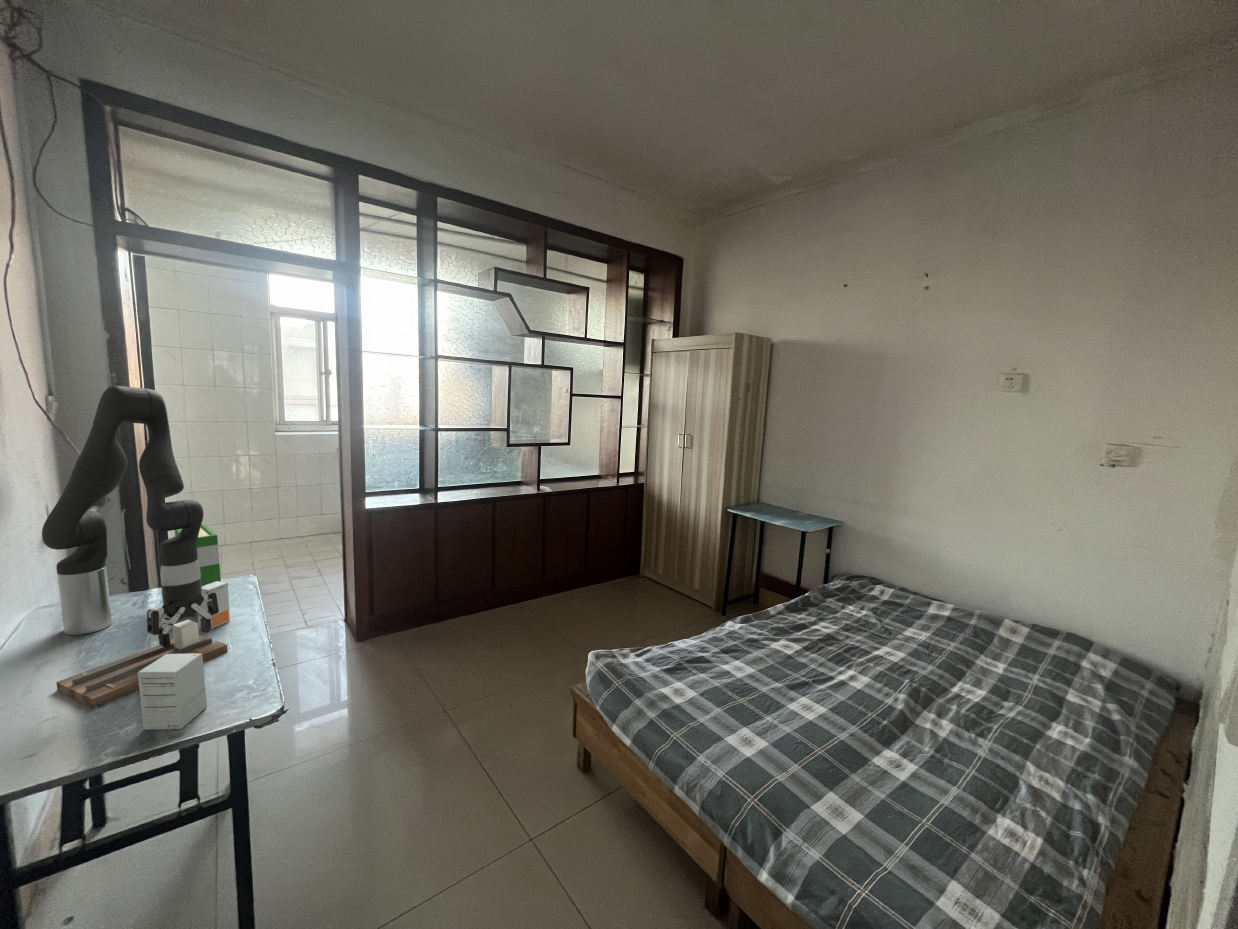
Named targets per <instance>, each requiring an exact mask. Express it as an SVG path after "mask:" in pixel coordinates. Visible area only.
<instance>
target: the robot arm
mask: <svg viewBox="0 0 1238 929" xmlns="http://www.w3.org/2000/svg"><path fill="white" fill-rule="evenodd" d="M166 406H167V405H166V402H165V399H164V397H163V396H162V394H161V393H160V392H159V391H157V390H154V389H151V388H143V387H135V386H134V387H133V386H125V385H124V386H123V385H111V386H109V387H107V388H106V389H105V390H104V391H103V393H102V395H101V396H100V398H99V402H98V404H97V408H96V410H95V411H96V412H95V415H94V418H93V421H92V426H91V429H90V431H89V434H88V436H87V439H86V441H85V444H84V445H83V448H82V450H81V452H80V454H79V456H78V458H77V460H76V461H75V465H74V467H73V468H72V471H71V474H70V477H69V479H68V482H67V483H66V485H65V488H64V490H63V491H62V493H61V495H60V497H59V499H58V500H57V502H56V504H55V506H54V507H53V508H52V509H51V511H50V512H49V514H48V516H47V517H46V519H45V521H44V523H43V526H42V529H41V538H42V541H43V543H44V545H45V546H46V547H47V548H49V549H52V550H56V551H60V550H68V549H73V548H76V549H75V550H74V551H73V552H72V553H71V554H69V555H68V556H66V557H64V558H62V559H61V560H59V561H58V562H57V563H56V574H57V583H58V589H59V590H58V591H59V598H60V600H59V601H60V606H61V615H62V625H63V632H64V635H67V636H80V635H81V636H82V635H86V634H91V633H95V632H98V631H100V630H104V629H106V628H108V627H109V626H111V625H112V623H113V619H112V611H111V599H110V598H111V597H110V592H109V591H110V590H109V582H108V581H109V580H108V572H107V558H108V530H107V524H106V521H105V518H104V517H103V515H102V514H101V513H99V512H97V511H95V510H90V509H91V508H92V507H93V506H94V505H96V504H97V503H98V502H100V501H101V500H103V499H104V498H105V497H107V496H108V495H109V494H110V493H112V492H113V491H114V490H116V488H117V487H118V486H119V485H120V483H121V481H122V479H123V477H124V475H125V473H126V471H127V468H128V463H129V462H128V461H129V460H128V457H127V454H126V453H125V452H124V449H123V448H122V446H121V444H120V443H119V440H118V438H117V436H118V431H119V428H120V426H121V425H123V424H139V425H140V424H141V425H145V426H146V427H147V430H148V434H149V438H148V442H147V443H146V446H145V447H144V449H143V451H142V453H141V455H140V459H139V462H138V469H139V474H140V477H141V479H142V482H143V484H144V488H145V490H146V500H147V505H146V516H145V518H146V519H145V520H146V524H147V526H148V527H149V529H151V530H152V531H154V532H157V533H164V532H170V531H175V530H177V529H180V530H181V532H180V533H179V534H178V535H177V536H175V535H174V536H173V537H170V538H168V539H165V540H163V541H162V542H160V544H159V548H158V549H159V559H160V560H159V561H160V572H159V573H160V574H159V575H160V585H161V586H160V587H161V594H162V595H161V597H162V601H163V604H162V606H161V607H160V608H156V609H152V608H150V609H148V610H147V611H146V625H147V626H146V630H147V634H150V635H154V636H157V635H158V645H161V646H163V647H165V648H168V647H170V646H171V645H170V641H171V636H170V635H171V634H170V632H169V631H170V630H171V628H172V626H173V625H174V624H177V622H178V621H180V620H183V619H186V618H188V617H189V618H190V617H191V616H193V615H194V614H195V613H196V614H198V615H199V616H201V617H202V618H201V619H200V621H201V628H200V631H201V633H203V634H207V633H209V632H210V630H212V629H211V616H213V615H214V614H217V613H218V612H219V608H218V602H217V595H216V593H214V592H210V591H208V592H206V594H204V595H202V594H201V593H202V587H201V572H200V566H199V562H198V555H197V540H198V535H199V531H200V527H201V524H203V519H204V508H203V506H202V504H200V502H199V501H197V500H195V499H183V500H176V501H169V502H168V501H167V502H165V500H164V499H167V498H169V497H172V496H175V495H179V494H180V493H181V492H182V491H183V490H184V488H185V485H184V482H183V478H182V475H181V473H180V470H179V468H178V466H177V462H176V459H175V455H174V451H173V444H172V438H171V430H170V424H169V417H168V411H167V410H168V409H167V407H166ZM204 600H205V601H207V606H208V611H207V612H206V610H204V609H203V608H201V607H200V606H201V604H202V602H203V601H204ZM163 613H164V616H163V617H162V614H163ZM161 617H162V618H161ZM160 618H161V620H160ZM160 622H161V623H160Z"/></svg>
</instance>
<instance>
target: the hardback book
mask: <svg viewBox="0 0 1238 929" xmlns="http://www.w3.org/2000/svg"><path fill="white" fill-rule="evenodd" d="M181 530H182V529H177V530H174V537H175V536H177V535H178V534H179V533H180V532H181ZM219 554H220V552H219V540H218V534H217V533H216V532H214V531H213V530H212V529H211V528H210V527H208V526H207V525H206V523H202V524H201V527H200V531H199V535H198V540H197V555H198V562H199V566H200V572H201V587H202V586H205V585H207V584H210V583H213V582H216V581H218V582H222V578H221V564H220V555H219ZM194 616H195V617H198V614H196V613H195V614H194V615H193V616H192V617H191V618H194Z"/></svg>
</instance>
